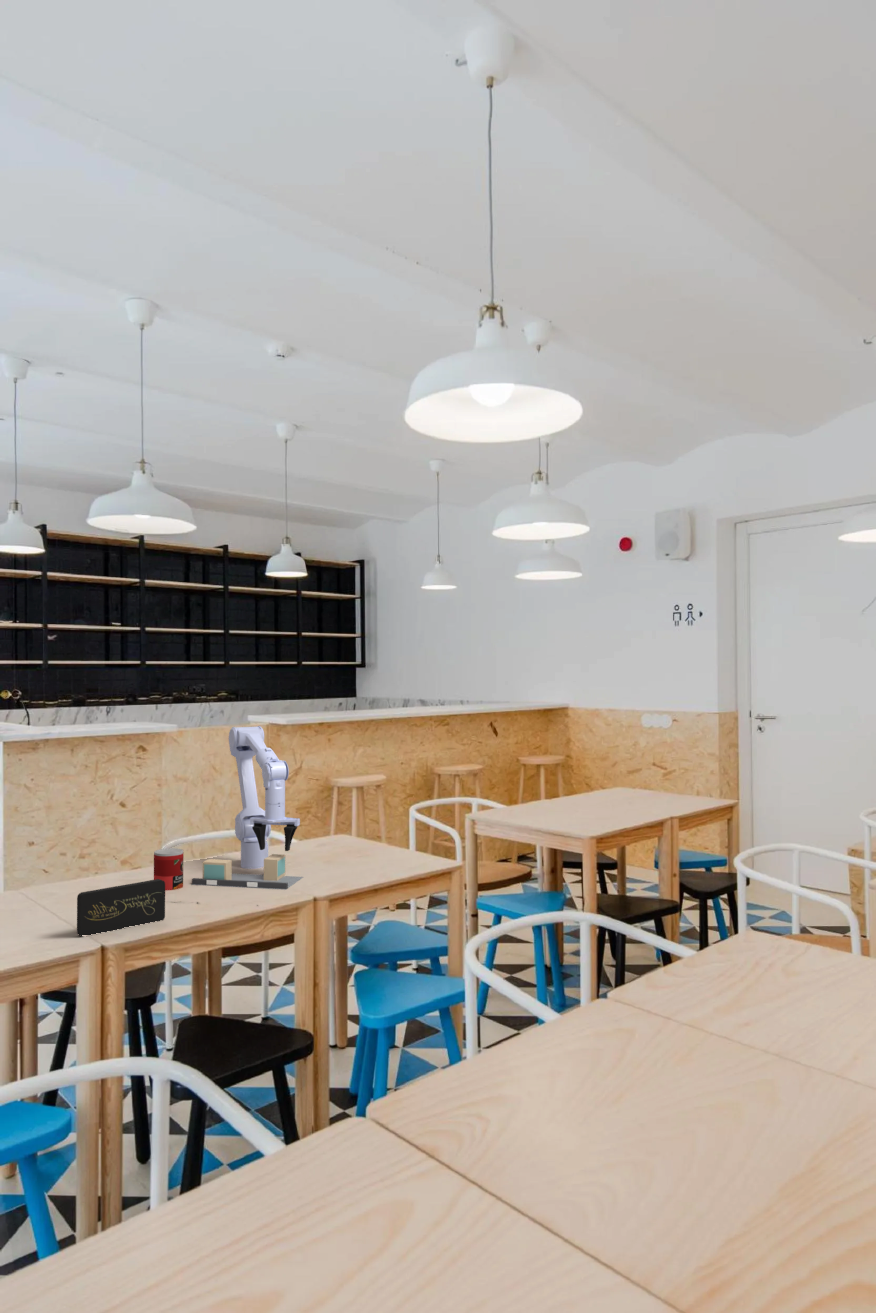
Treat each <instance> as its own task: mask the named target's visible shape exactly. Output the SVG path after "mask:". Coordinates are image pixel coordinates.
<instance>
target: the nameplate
mask: <svg viewBox="0 0 876 1313" xmlns="http://www.w3.org/2000/svg"><path fill="white" fill-rule="evenodd" d="M165 917H166V891H165V882H164V881H163V880H160V879H155V880H154V879H152V880H144V881H138V882H133V883H126V884H122V885H116V886H109V887H105V888H99V889H92V890H87V891H81V892H80V893H78V894H77V896H76V933H77V935H78V934H79V935H78V936H80V935H81V936H82V935H91V934H96V933H100V934H102V933H101V932H105V933H108V932H107V931H110V932H113V930H115V931H118V930H117V929H119V930H123V929H122V928H124V927H129V926H134V927H136V926H135V925H138V926H141V925H140V924H143V925H146V924H145V923H148V924H151V923H150V922H153V923H156V922H155V921H157V922H161V921H160V920H162V921H164V920H165ZM129 928H130V927H129ZM124 929H125V928H124ZM96 935H97V934H96ZM81 936H80V937H81ZM91 936H92V935H91Z"/></svg>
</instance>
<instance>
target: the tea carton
mask: <svg viewBox="0 0 876 1313" xmlns="http://www.w3.org/2000/svg"><path fill="white" fill-rule="evenodd" d="M286 855H287V854H278V853H277V854H274V853H271V855H268V857H267V858H265V859H264V867H263V875H264V880H271V881H277V880H279V879H280V878H282V877H283V876H286V860H287V859H286Z"/></svg>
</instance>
